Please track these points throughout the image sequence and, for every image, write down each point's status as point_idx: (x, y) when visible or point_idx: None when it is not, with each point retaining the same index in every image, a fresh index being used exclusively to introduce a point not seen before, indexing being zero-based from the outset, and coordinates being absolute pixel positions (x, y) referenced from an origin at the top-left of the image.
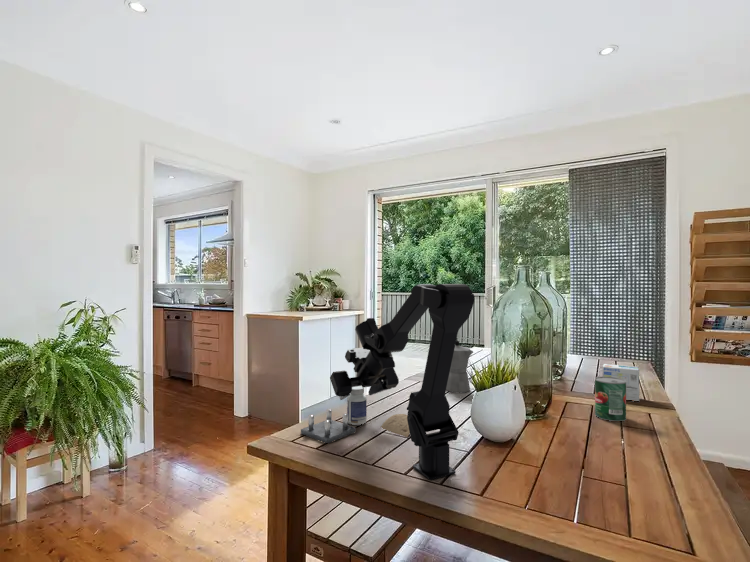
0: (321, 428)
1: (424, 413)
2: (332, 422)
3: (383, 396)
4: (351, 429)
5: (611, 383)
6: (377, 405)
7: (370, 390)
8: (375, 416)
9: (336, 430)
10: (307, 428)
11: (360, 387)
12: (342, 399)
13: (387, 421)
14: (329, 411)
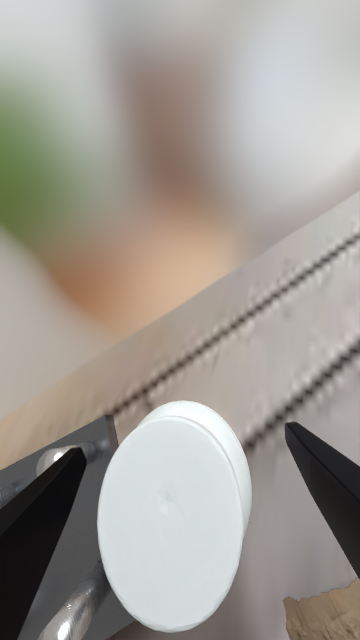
0: None
1: None
2: (95, 459)
3: (334, 242)
4: (113, 634)
5: None
6: (305, 303)
7: (311, 469)
8: (282, 409)
9: (54, 596)
10: (1, 483)
11: (203, 519)
12: (73, 492)
13: (345, 637)
14: None
